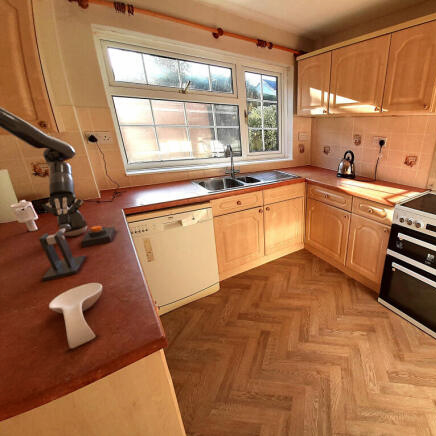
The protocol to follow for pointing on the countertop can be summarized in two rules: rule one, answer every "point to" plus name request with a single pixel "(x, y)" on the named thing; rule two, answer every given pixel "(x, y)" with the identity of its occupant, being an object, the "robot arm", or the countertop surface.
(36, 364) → the countertop surface
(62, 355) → the countertop surface
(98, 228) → the power button
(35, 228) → the white stemmed block
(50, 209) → the robot arm
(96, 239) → the grey control base
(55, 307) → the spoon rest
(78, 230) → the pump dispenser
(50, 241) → the lever
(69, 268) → the lever bracket
